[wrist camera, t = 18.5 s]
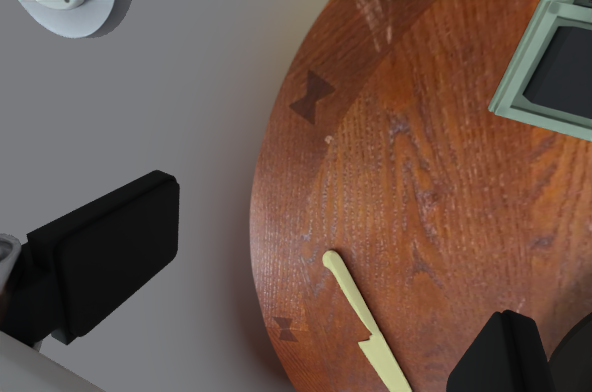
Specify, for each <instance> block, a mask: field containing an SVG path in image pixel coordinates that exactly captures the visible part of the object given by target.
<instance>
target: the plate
mask: <svg viewBox="0 0 592 392" xmlns="http://www.w3.org/2000/svg"><path fill="white" fill-rule="evenodd" d="M548 365H549V368H550V372H551V375H552V378H553V382H554V385H555V388H556V390H557V391H558V392H592V312H591V313H590V314H589V315H587V316H586V317H585V318H583V319H582V320H581V321H580V322H579V323H578V324H577V325H575V326H574V327H573V328H572V329H571V330H570V331H569V332H568V334H567V335H566V336H565V337H564V338H563V339H562V341H561V342H560V343H559V345H558V346H557V347H556V349H555V351H554V352H553V354H552V356H551V358H550V360H549V362H548Z"/></svg>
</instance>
